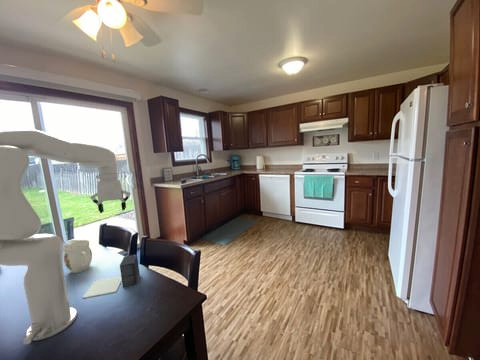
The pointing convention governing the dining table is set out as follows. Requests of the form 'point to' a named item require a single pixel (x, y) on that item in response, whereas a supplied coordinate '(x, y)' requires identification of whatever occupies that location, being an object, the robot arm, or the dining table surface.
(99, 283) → the mat
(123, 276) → the box
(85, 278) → the dining table surface
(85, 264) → the pitcher
